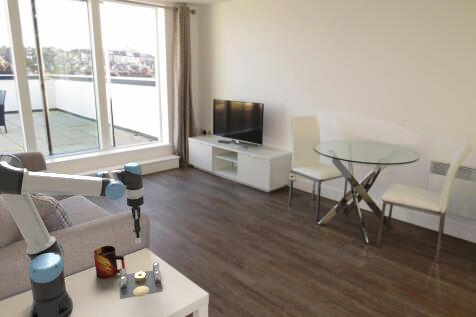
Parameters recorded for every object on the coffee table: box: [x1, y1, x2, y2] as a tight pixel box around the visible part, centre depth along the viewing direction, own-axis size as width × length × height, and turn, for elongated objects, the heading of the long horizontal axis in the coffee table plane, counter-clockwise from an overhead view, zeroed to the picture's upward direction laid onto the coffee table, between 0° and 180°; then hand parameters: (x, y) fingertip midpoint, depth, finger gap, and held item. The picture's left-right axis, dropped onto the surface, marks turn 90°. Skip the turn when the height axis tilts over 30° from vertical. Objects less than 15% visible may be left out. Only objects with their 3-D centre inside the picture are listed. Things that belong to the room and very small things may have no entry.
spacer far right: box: [152, 262, 160, 274], centre depth 164 cm, size 3×3×5 cm
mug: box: [93, 245, 126, 280], centre depth 164 cm, size 10×14×12 cm
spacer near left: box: [118, 276, 127, 290], centre depth 154 cm, size 3×3×5 cm
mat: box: [119, 269, 164, 300], centre depth 157 cm, size 18×18×1 cm
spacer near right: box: [154, 269, 162, 283], centre depth 158 cm, size 3×3×5 cm
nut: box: [135, 271, 146, 283], centre depth 160 cm, size 5×4×2 cm
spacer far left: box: [119, 266, 128, 278], centre depth 160 cm, size 3×3×5 cm
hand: (138, 242), depth 163 cm, fingers closed
